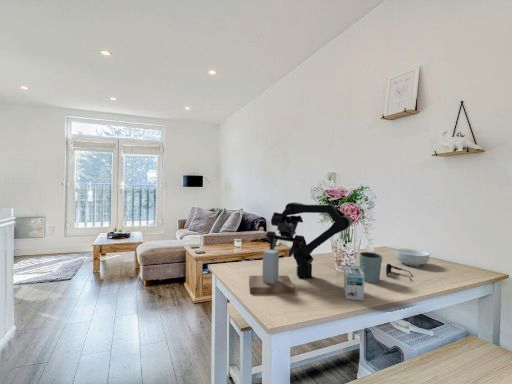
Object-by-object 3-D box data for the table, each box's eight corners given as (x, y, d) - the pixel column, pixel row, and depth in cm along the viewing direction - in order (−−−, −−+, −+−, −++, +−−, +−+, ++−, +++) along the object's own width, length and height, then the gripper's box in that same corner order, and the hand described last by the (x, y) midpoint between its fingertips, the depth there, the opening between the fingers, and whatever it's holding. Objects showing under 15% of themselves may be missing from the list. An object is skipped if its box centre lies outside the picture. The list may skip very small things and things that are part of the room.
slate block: (278, 280, 122) (278, 251, 122) (272, 284, 118) (273, 253, 117) (268, 278, 125) (268, 249, 124) (262, 281, 121) (263, 251, 120)
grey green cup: (367, 275, 139) (368, 251, 139) (386, 281, 131) (387, 255, 130) (353, 278, 134) (354, 253, 133) (372, 285, 125) (373, 258, 125)
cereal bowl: (431, 264, 160) (432, 251, 160) (425, 270, 147) (426, 257, 147) (399, 258, 171) (399, 246, 171) (391, 264, 159) (391, 251, 158)
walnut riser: (288, 280, 129) (288, 275, 129) (293, 293, 115) (294, 287, 115) (248, 281, 128) (249, 275, 128) (250, 293, 114) (250, 287, 114)
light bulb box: (364, 301, 108) (365, 273, 108) (346, 299, 110) (346, 272, 109) (359, 290, 119) (360, 265, 118) (343, 289, 120) (344, 264, 120)
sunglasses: (386, 271, 146) (388, 261, 146) (412, 278, 140) (414, 269, 139) (383, 276, 137) (385, 267, 137) (410, 285, 131) (412, 275, 130)
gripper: (268, 214, 136) (256, 241, 127) (304, 218, 126) (294, 247, 117) (274, 228, 143) (263, 254, 134) (310, 233, 133) (300, 261, 124)
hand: (279, 254), depth 127 cm, fingers open, 9 cm apart
